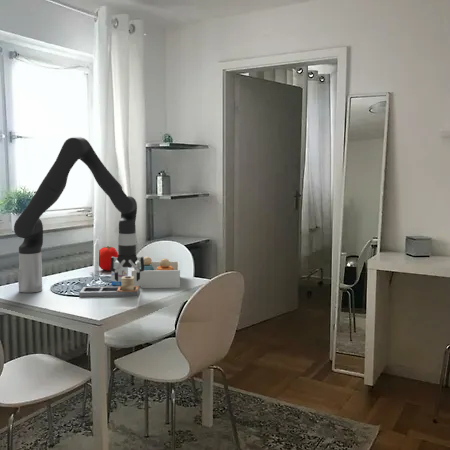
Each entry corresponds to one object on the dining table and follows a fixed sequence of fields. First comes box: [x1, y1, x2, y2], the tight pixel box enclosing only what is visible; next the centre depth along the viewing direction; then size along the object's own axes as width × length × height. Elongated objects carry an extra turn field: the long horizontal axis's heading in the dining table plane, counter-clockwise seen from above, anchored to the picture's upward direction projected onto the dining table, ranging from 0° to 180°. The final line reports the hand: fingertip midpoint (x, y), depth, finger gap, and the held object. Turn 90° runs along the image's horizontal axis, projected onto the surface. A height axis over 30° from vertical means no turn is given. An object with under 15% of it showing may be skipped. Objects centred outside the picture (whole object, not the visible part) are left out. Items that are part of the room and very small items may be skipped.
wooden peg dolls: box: [140, 256, 173, 271], centre depth 246 cm, size 18×17×12 cm
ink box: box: [111, 260, 129, 286], centre depth 237 cm, size 9×5×12 cm, turn 168°
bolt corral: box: [131, 260, 181, 289], centre depth 244 cm, size 22×23×8 cm
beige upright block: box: [120, 275, 134, 290], centre depth 218 cm, size 5×5×7 cm
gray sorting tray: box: [78, 285, 140, 298], centre depth 218 cm, size 24×10×3 cm, turn 96°
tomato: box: [98, 245, 118, 271], centre depth 271 cm, size 12×12×13 cm
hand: (127, 280), depth 218 cm, fingers open, 8 cm apart
